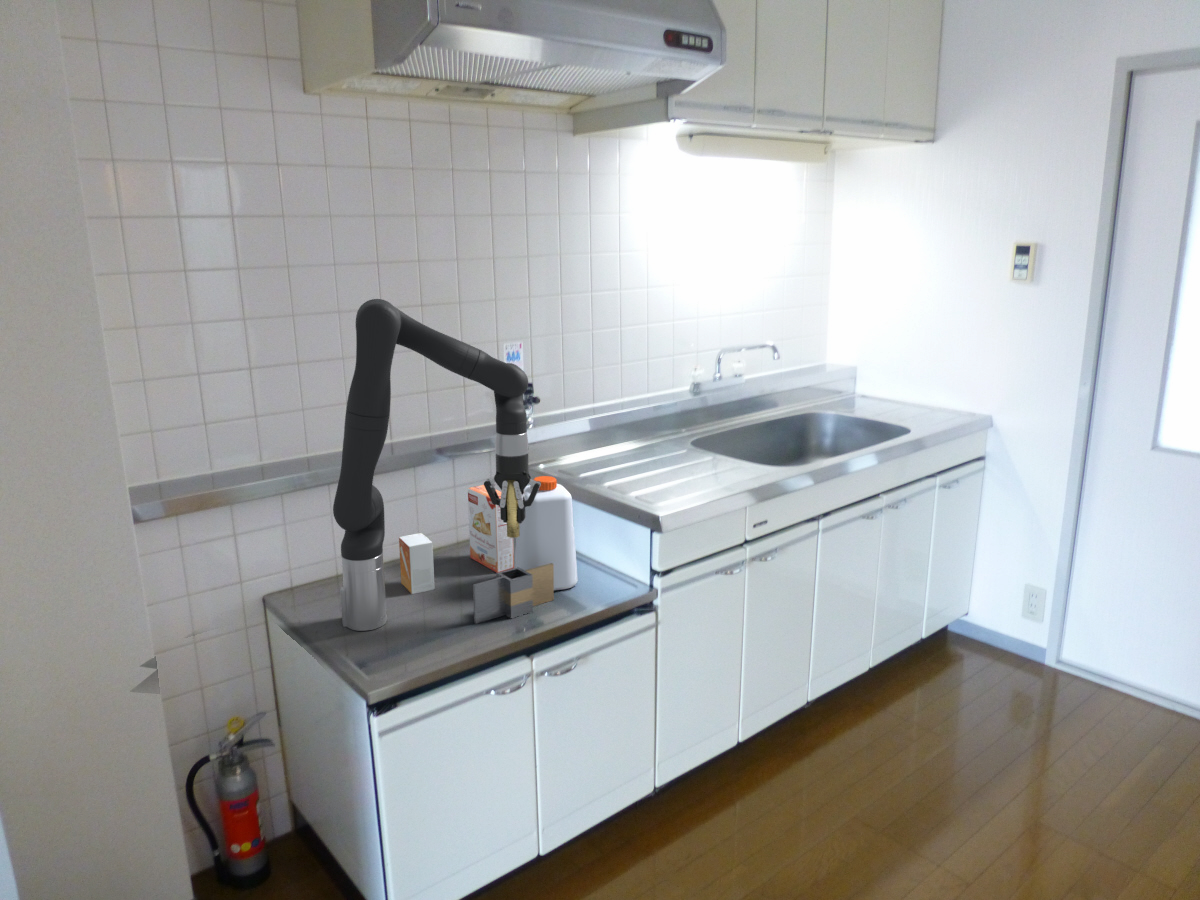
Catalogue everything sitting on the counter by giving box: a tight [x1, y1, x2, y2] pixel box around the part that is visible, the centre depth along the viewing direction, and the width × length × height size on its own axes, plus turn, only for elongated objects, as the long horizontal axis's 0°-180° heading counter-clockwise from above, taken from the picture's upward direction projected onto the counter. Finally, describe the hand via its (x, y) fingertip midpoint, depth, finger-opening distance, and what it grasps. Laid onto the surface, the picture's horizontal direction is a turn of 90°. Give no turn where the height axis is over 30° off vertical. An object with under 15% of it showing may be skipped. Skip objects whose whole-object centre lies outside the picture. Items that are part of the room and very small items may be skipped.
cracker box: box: [467, 484, 515, 574], centre depth 237 cm, size 14×6×21 cm, turn 39°
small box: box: [398, 532, 435, 595], centre depth 222 cm, size 8×6×13 cm
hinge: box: [472, 563, 555, 625], centre depth 209 cm, size 22×6×10 cm, turn 128°
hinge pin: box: [506, 480, 520, 539], centre depth 204 cm, size 3×3×14 cm
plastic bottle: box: [514, 475, 579, 591], centre depth 224 cm, size 15×15×28 cm
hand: (513, 521), depth 204 cm, fingers closed on hinge pin, 3 cm apart
